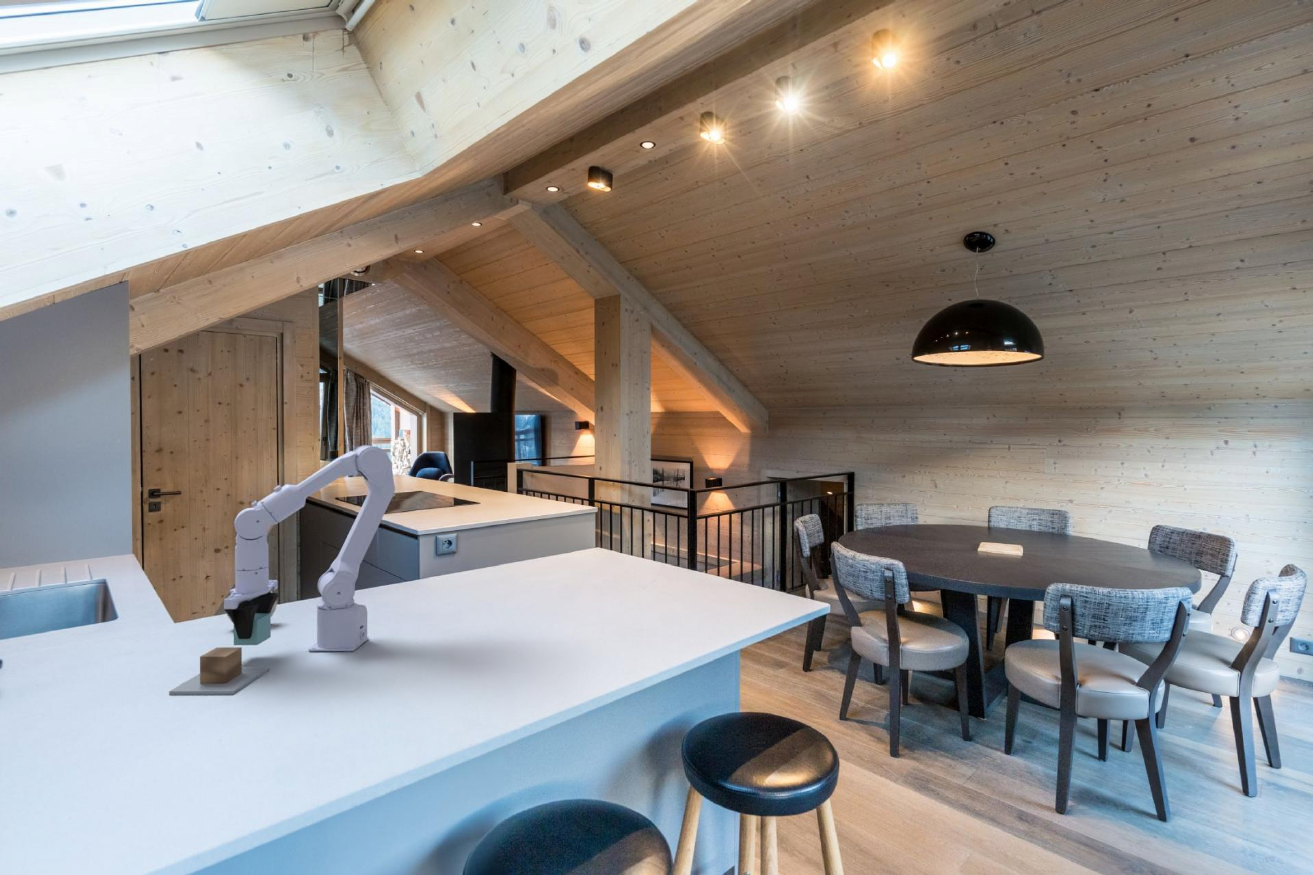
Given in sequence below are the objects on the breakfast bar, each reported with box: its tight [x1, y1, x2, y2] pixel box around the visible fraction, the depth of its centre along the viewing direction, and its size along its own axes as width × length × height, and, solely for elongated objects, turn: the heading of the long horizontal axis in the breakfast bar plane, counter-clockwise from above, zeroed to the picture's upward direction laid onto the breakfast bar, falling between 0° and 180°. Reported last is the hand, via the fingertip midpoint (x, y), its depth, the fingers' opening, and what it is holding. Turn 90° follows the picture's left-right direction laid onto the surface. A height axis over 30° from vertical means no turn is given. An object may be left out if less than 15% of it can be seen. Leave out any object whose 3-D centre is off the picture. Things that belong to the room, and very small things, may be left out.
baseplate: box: [168, 666, 270, 696], centre depth 116 cm, size 11×11×1 cm
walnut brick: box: [199, 646, 243, 684], centre depth 116 cm, size 5×5×5 cm
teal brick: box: [233, 613, 272, 646], centre depth 127 cm, size 5×5×5 cm
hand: (252, 633), depth 127 cm, fingers closed on teal brick, 5 cm apart
